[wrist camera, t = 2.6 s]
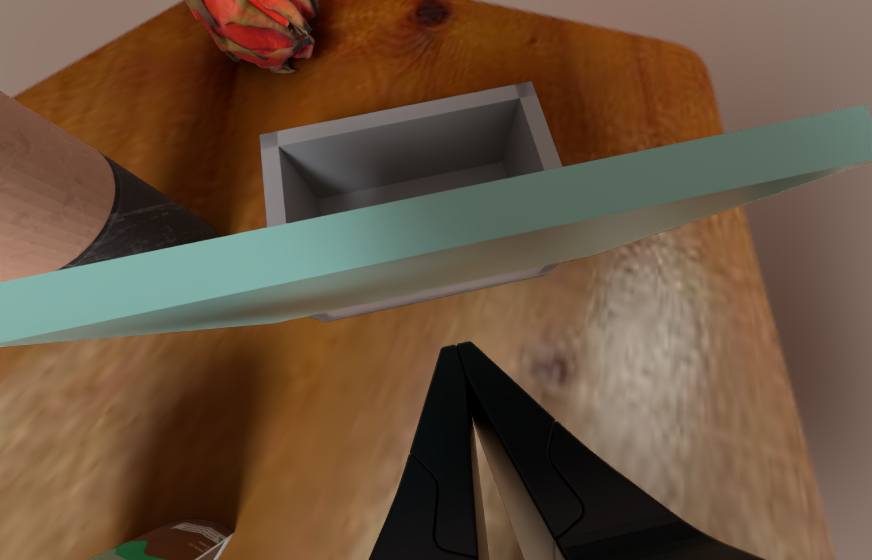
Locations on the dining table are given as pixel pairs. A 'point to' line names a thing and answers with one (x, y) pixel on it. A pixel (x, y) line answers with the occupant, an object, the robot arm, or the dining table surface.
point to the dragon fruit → (259, 29)
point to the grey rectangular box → (407, 164)
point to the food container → (174, 543)
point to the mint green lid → (429, 237)
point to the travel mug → (75, 202)
